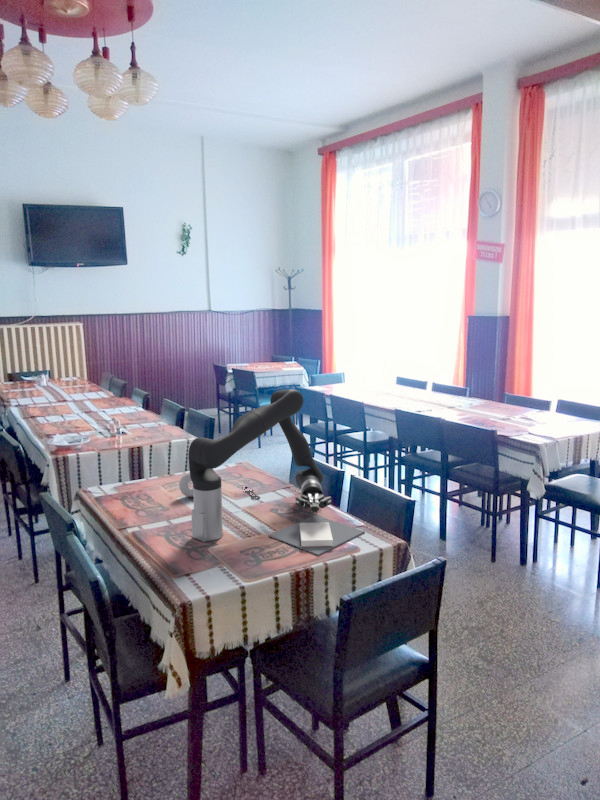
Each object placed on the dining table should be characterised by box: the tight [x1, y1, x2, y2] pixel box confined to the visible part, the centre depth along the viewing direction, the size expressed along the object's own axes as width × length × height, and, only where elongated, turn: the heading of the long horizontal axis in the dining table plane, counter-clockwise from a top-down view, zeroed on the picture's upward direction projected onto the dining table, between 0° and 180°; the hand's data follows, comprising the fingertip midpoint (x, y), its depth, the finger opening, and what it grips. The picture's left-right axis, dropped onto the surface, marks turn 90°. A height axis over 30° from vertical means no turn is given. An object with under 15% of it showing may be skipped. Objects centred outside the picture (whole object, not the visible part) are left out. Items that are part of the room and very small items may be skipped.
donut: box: [178, 471, 193, 498], centre depth 239 cm, size 10×4×10 cm, turn 119°
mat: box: [267, 514, 366, 557], centre depth 203 cm, size 24×22×1 cm
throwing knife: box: [244, 486, 261, 500], centre depth 245 cm, size 4×20×1 cm, turn 23°
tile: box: [299, 522, 333, 547], centre depth 199 cm, size 2×10×14 cm
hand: (315, 509), depth 200 cm, fingers closed
